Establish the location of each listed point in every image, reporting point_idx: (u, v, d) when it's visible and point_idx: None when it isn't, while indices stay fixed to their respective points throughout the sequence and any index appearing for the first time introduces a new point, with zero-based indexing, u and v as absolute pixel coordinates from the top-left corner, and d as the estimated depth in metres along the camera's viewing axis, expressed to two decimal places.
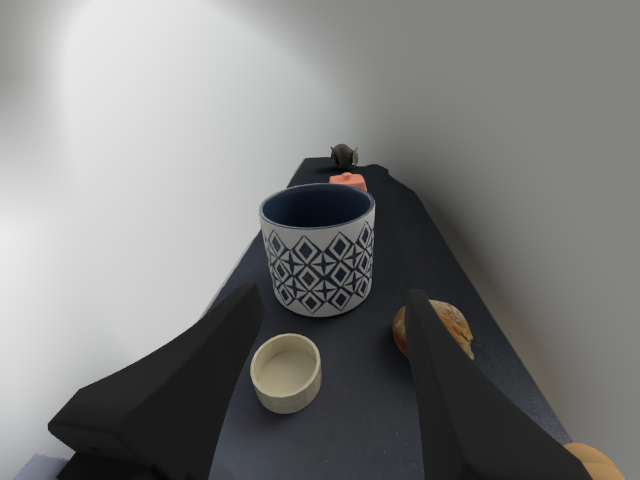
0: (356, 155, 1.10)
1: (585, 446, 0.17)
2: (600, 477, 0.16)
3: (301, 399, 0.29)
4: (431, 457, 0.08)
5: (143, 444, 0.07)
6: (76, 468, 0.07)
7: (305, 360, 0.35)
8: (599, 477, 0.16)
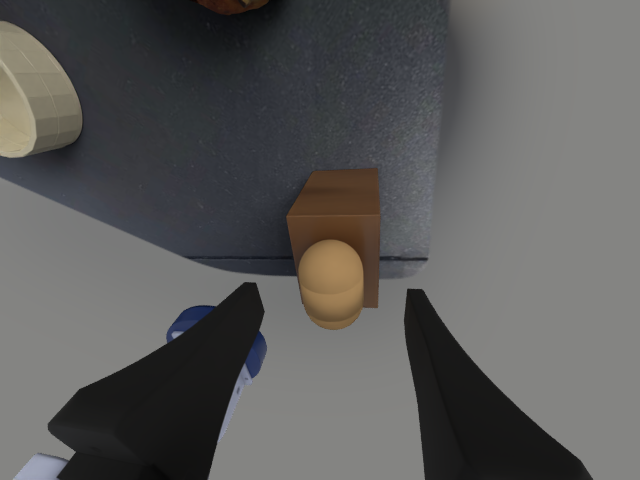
0: None
1: (325, 269, 0.11)
2: (317, 304, 0.12)
3: (56, 138, 0.20)
4: (431, 457, 0.08)
5: (143, 444, 0.07)
6: (76, 468, 0.07)
7: None
8: (316, 303, 0.12)
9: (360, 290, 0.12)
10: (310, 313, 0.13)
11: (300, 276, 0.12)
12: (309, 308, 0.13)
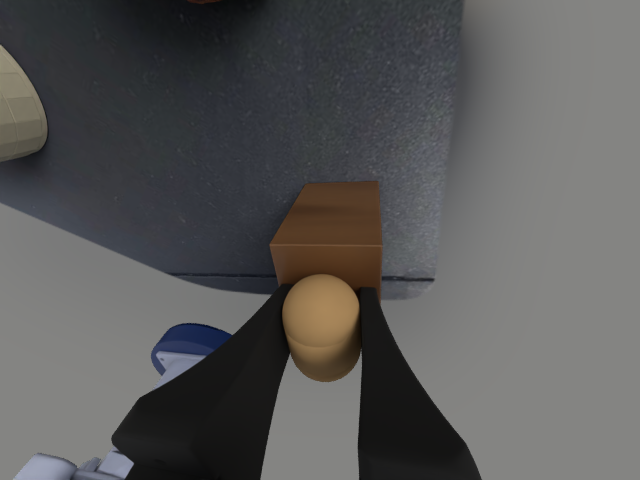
0: None
1: (313, 317, 0.09)
2: (304, 356, 0.10)
3: (16, 146, 0.17)
4: None
5: (211, 456, 0.06)
6: None
7: None
8: (303, 356, 0.10)
9: (357, 338, 0.10)
10: (297, 363, 0.11)
11: (283, 321, 0.10)
12: (295, 358, 0.11)
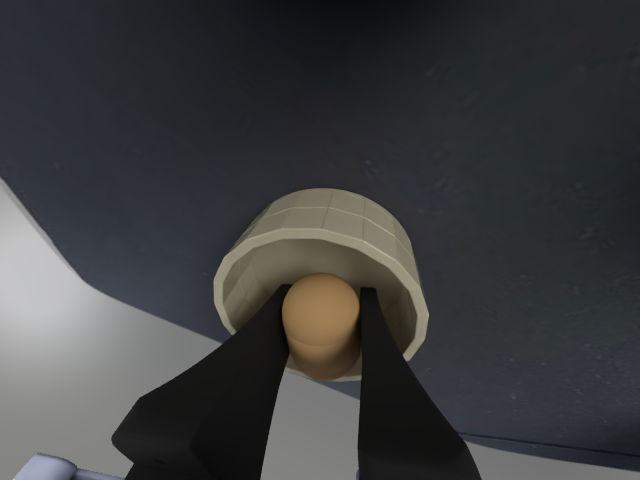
0: None
1: (312, 316, 0.09)
2: (304, 355, 0.10)
3: None
4: None
5: (211, 457, 0.06)
6: None
7: None
8: (303, 354, 0.10)
9: (357, 336, 0.10)
10: (296, 362, 0.11)
11: (283, 320, 0.10)
12: (295, 357, 0.11)
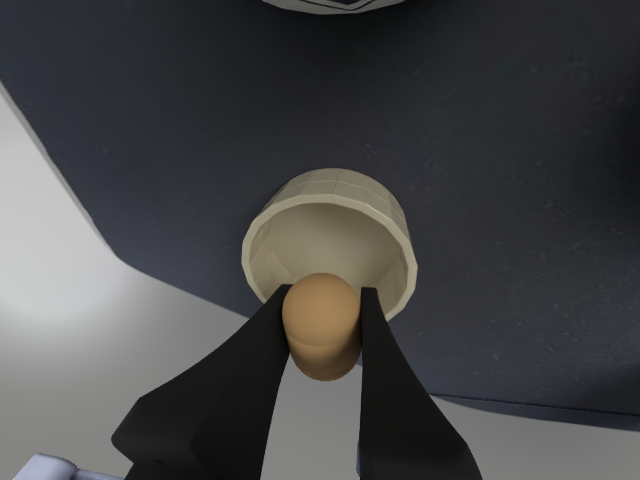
0: None
1: (313, 316, 0.09)
2: (304, 355, 0.10)
3: None
4: None
5: (211, 456, 0.06)
6: None
7: None
8: (303, 355, 0.10)
9: (357, 337, 0.10)
10: (297, 362, 0.11)
11: (283, 320, 0.10)
12: (295, 357, 0.11)
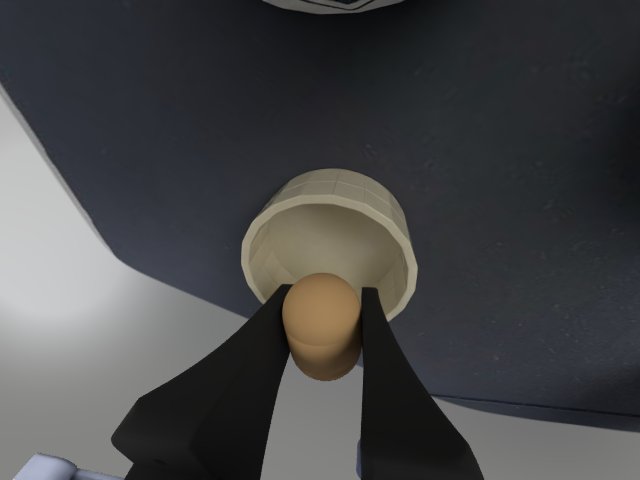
0: None
1: (313, 315, 0.09)
2: (304, 355, 0.10)
3: None
4: None
5: (211, 456, 0.06)
6: None
7: None
8: (303, 354, 0.10)
9: (357, 336, 0.10)
10: (297, 362, 0.11)
11: (284, 320, 0.10)
12: (295, 357, 0.11)
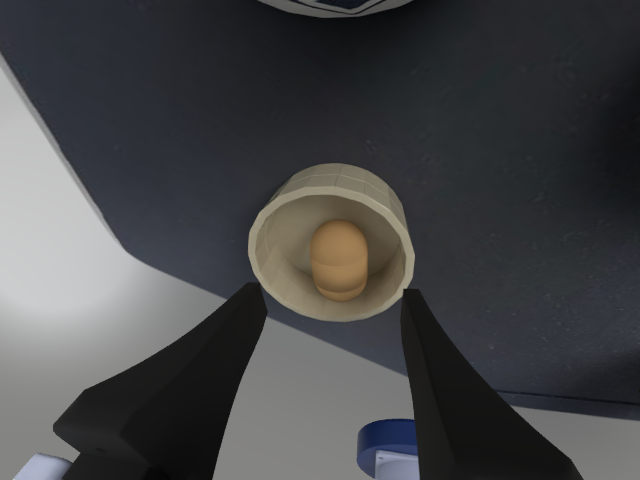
0: None
1: (337, 243, 0.13)
2: (331, 276, 0.14)
3: None
4: (425, 456, 0.08)
5: (149, 445, 0.07)
6: (81, 469, 0.07)
7: None
8: (330, 276, 0.14)
9: (366, 261, 0.14)
10: (323, 287, 0.14)
11: (313, 253, 0.14)
12: (322, 282, 0.14)
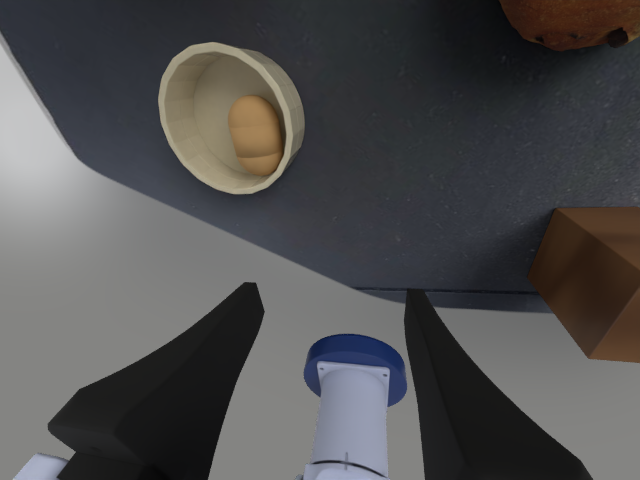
0: None
1: (256, 104, 0.15)
2: (257, 138, 0.16)
3: None
4: (431, 457, 0.08)
5: (143, 444, 0.07)
6: (76, 468, 0.07)
7: (260, 77, 0.17)
8: (256, 139, 0.16)
9: None
10: (252, 155, 0.16)
11: (236, 121, 0.16)
12: (250, 150, 0.16)
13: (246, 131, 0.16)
